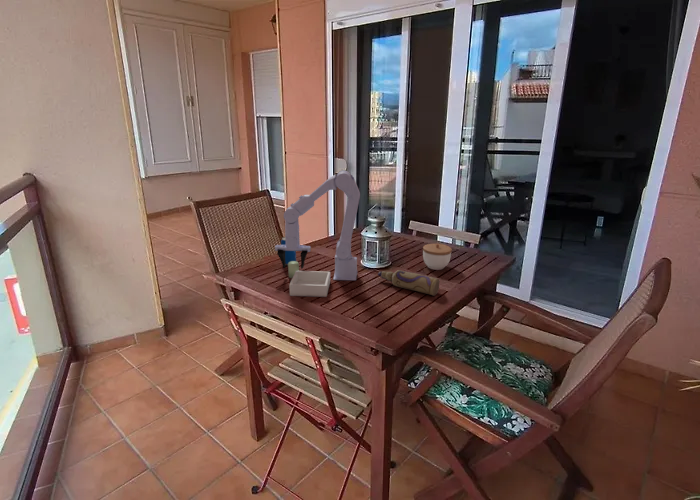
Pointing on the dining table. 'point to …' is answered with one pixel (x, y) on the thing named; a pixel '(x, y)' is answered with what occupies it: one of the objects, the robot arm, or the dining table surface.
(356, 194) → the robot arm
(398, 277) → the decorative bottle
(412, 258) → the dining table surface
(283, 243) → the beverage can
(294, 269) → the green cylinder
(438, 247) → the lidded bowl
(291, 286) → the bin
